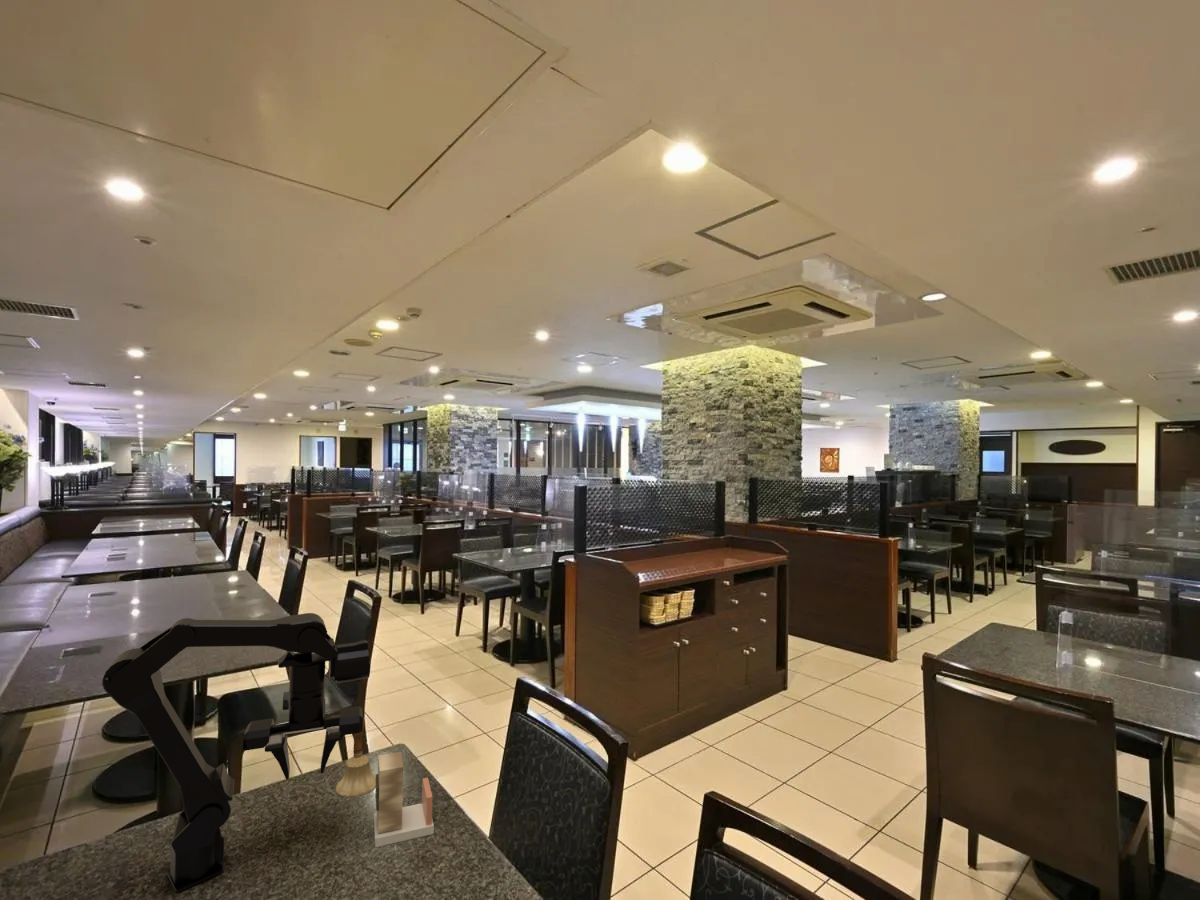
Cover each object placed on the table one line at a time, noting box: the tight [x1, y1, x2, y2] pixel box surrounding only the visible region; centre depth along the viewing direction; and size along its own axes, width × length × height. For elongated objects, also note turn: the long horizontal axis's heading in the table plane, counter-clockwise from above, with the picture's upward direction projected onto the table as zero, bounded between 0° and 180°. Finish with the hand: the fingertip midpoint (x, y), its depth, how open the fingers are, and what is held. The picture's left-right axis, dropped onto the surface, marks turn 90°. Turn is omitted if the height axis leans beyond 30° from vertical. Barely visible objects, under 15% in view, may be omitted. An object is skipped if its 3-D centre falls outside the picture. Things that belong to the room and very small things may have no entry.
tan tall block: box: [374, 751, 404, 834], centre depth 107 cm, size 4×6×11 cm
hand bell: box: [335, 716, 376, 798], centre depth 122 cm, size 8×8×16 cm
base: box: [373, 777, 435, 848], centre depth 108 cm, size 10×8×6 cm
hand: (305, 775), depth 103 cm, fingers open, 5 cm apart
